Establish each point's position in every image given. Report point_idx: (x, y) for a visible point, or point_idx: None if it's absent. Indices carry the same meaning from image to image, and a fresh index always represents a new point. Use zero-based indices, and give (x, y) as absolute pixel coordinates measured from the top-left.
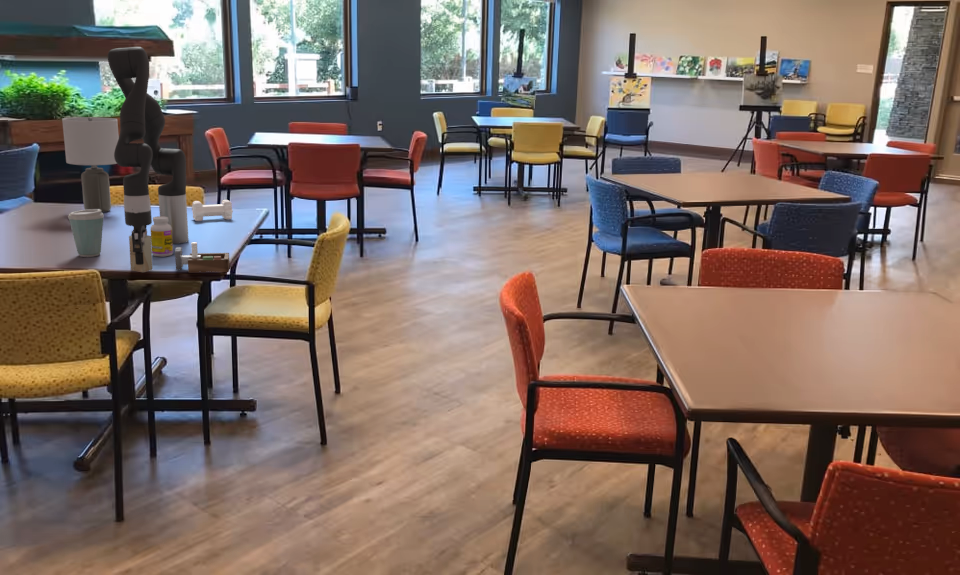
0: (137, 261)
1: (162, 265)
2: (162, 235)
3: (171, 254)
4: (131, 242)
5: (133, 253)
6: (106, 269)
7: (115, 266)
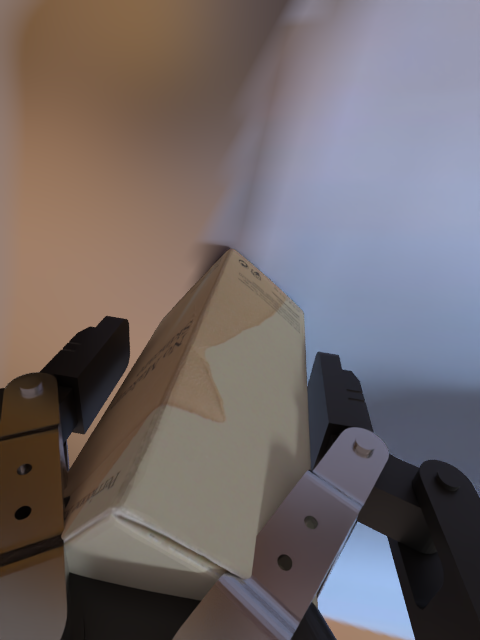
0: (76, 340)
1: None
2: None
3: None
4: (126, 434)
5: (165, 349)
6: (334, 18)
7: (430, 115)
